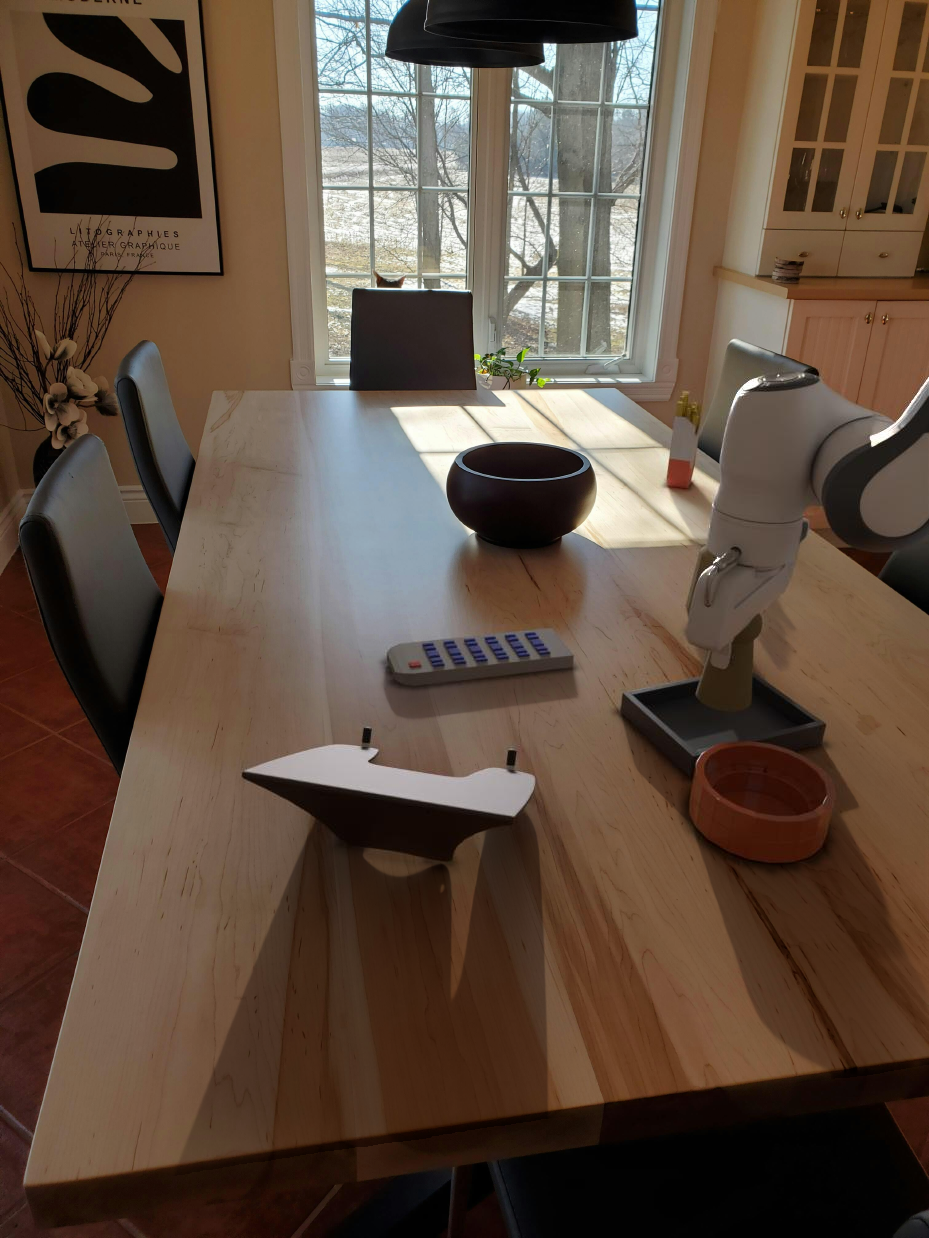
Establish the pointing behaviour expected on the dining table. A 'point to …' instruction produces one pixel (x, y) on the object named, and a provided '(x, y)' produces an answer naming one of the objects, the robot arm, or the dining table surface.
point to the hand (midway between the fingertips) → (731, 655)
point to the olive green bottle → (731, 674)
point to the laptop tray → (394, 798)
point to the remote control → (478, 657)
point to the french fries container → (684, 442)
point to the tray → (717, 720)
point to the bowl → (761, 801)
